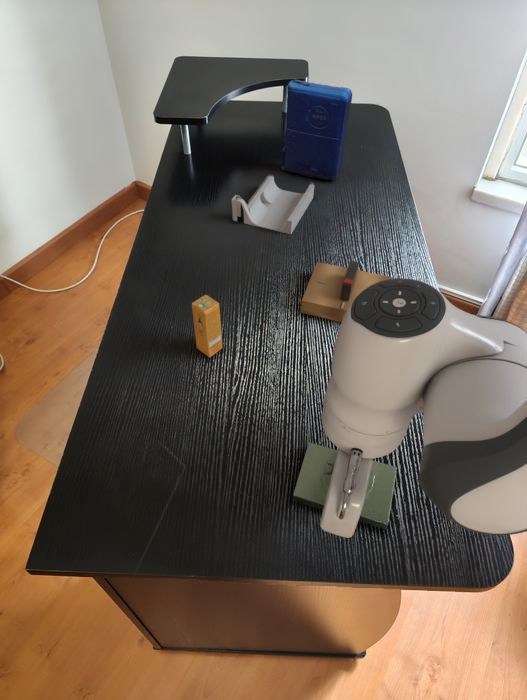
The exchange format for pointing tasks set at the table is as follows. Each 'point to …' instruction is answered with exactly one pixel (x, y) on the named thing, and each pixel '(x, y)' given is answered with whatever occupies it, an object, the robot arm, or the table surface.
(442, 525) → the table surface
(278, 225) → the white curved channel piece
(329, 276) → the control panel
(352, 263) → the dark grey block
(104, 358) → the table surface
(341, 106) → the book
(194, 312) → the supplement box
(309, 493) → the button box
